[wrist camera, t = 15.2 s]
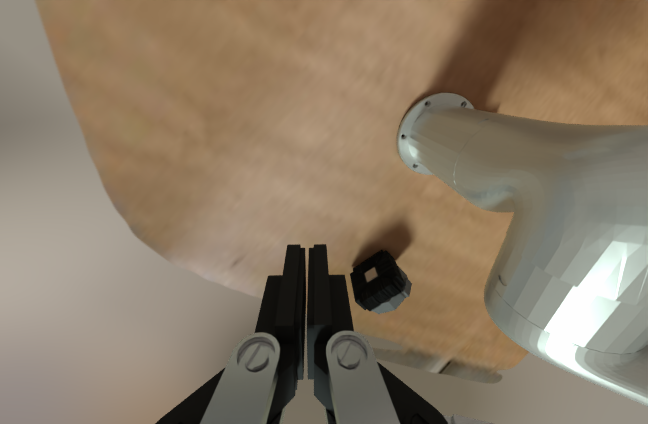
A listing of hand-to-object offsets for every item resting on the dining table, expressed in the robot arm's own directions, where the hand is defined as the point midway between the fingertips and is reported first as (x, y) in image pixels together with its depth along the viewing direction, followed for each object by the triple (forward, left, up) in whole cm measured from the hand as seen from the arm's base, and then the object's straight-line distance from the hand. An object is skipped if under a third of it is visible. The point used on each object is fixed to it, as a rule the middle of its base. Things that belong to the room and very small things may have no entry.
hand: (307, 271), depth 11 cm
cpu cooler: (-13, +27, -32) cm, 44 cm away
